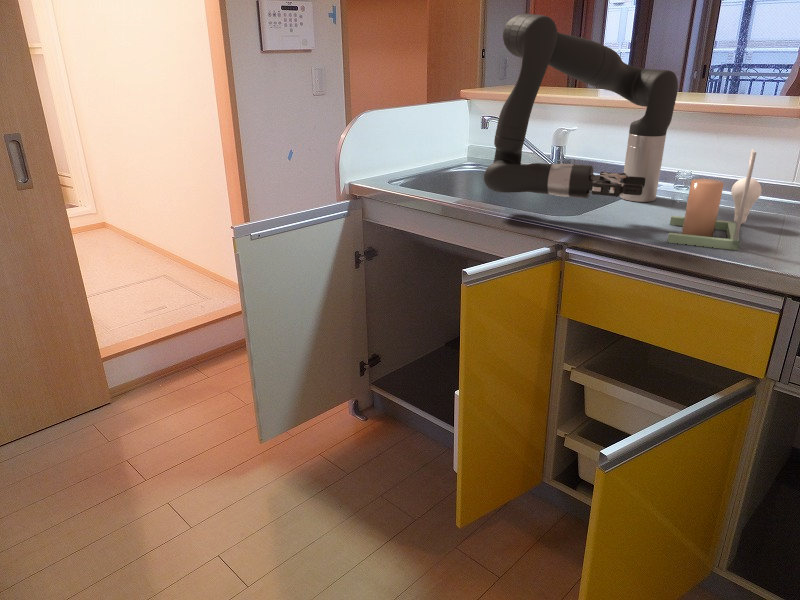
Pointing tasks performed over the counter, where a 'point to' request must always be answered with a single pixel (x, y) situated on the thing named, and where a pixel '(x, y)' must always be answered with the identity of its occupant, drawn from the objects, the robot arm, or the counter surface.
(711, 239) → the green u-shaped stand
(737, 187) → the lightbulb
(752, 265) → the counter surface
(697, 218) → the peach cylinder
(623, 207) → the counter surface
